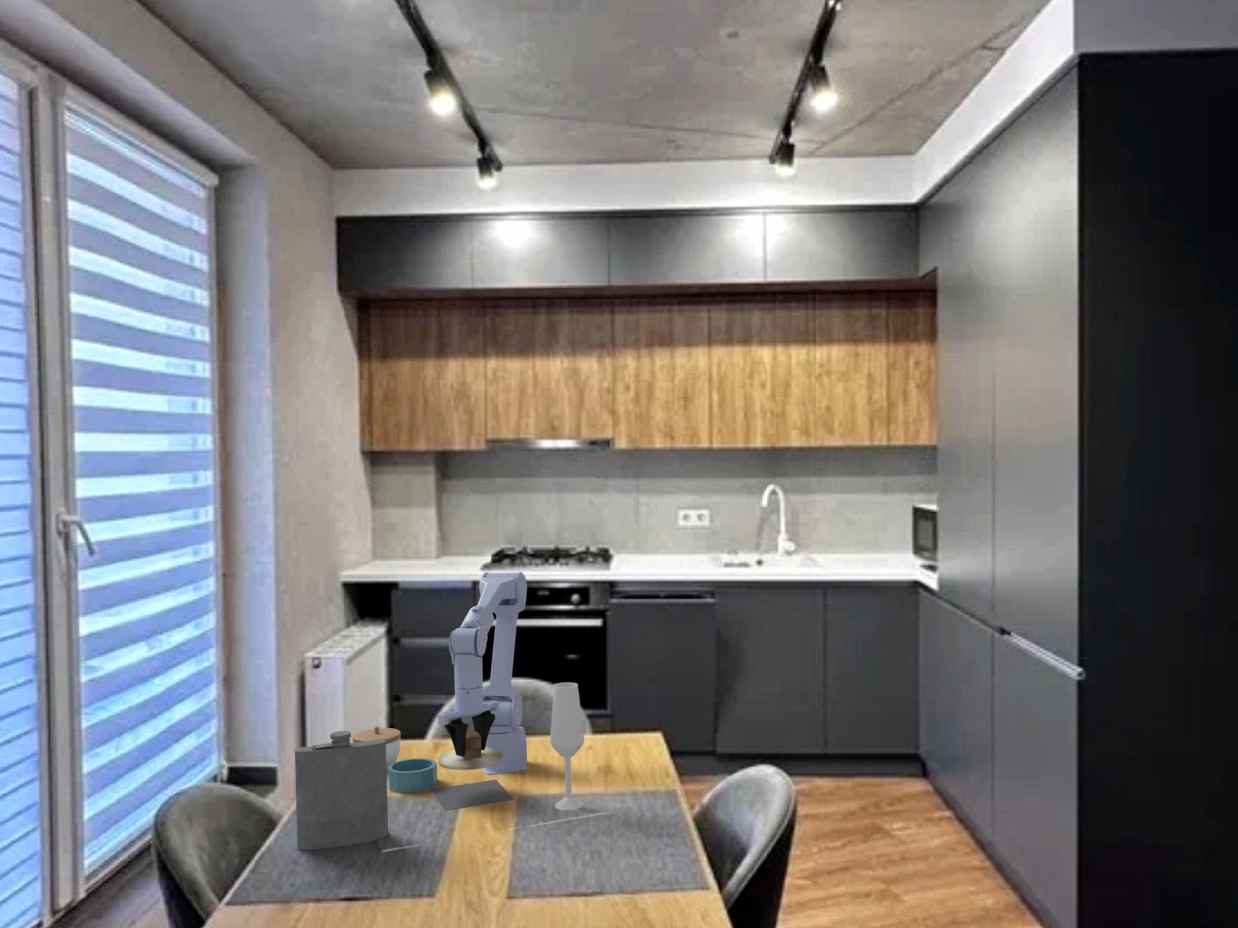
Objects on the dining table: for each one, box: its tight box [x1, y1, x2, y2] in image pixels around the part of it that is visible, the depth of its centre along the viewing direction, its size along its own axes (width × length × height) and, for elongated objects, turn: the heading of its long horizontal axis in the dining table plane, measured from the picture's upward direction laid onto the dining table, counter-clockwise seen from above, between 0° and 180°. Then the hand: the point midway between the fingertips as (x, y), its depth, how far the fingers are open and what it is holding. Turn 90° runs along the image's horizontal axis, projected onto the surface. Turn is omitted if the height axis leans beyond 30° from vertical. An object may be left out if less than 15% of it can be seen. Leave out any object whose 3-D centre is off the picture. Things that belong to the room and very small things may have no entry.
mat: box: [430, 779, 515, 812], centre depth 195 cm, size 14×14×1 cm
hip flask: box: [294, 730, 389, 851], centre depth 172 cm, size 16×4×20 cm, turn 107°
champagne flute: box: [549, 681, 585, 811], centre depth 187 cm, size 7×7×24 cm
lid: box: [438, 731, 503, 771], centre depth 195 cm, size 13×13×5 cm
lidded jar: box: [352, 725, 402, 771], centre depth 216 cm, size 11×11×9 cm
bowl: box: [387, 757, 438, 794], centre depth 203 cm, size 10×10×4 cm
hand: (470, 752), depth 195 cm, fingers closed on lid, 5 cm apart
